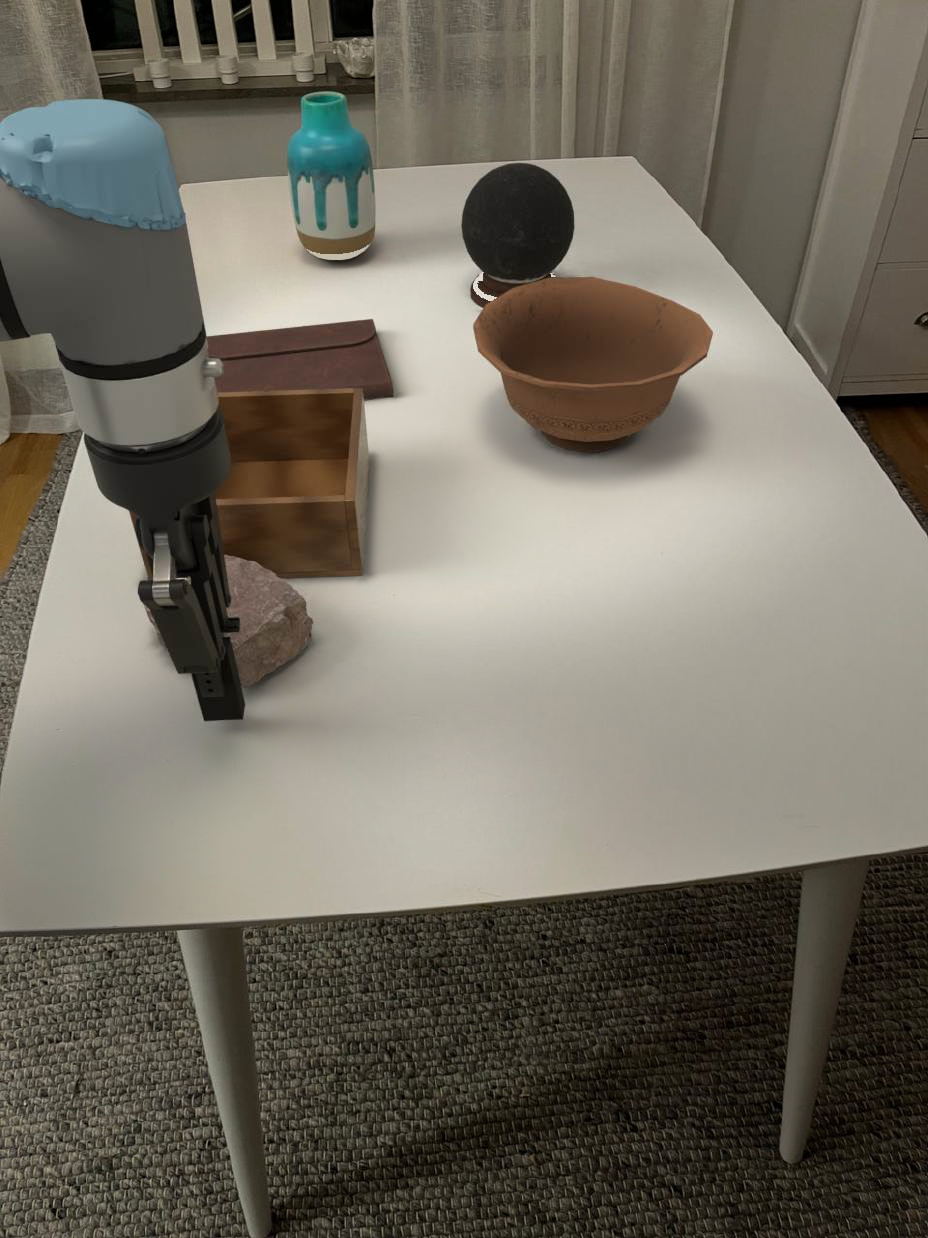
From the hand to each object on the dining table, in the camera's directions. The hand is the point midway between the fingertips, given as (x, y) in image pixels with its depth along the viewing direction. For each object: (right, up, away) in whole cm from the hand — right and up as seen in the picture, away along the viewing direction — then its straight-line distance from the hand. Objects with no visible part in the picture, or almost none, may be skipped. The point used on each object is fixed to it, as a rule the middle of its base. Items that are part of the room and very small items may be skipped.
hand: (224, 712), depth 71 cm
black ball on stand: (+23, +46, +53) cm, 74 cm away
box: (-1, +16, +19) cm, 25 cm away
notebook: (-2, +33, +39) cm, 51 cm away
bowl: (+29, +25, +30) cm, 48 cm away
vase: (0, +54, +62) cm, 82 cm away
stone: (-1, +5, +7) cm, 9 cm away
